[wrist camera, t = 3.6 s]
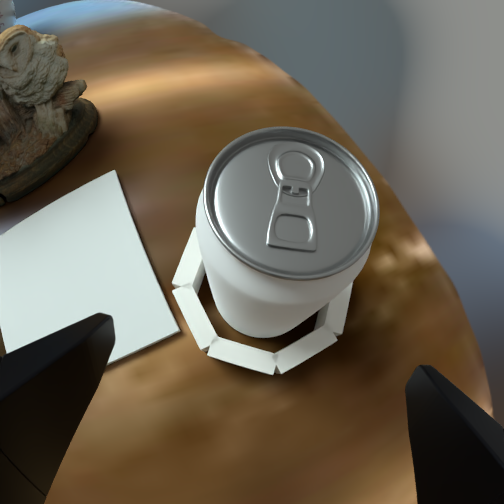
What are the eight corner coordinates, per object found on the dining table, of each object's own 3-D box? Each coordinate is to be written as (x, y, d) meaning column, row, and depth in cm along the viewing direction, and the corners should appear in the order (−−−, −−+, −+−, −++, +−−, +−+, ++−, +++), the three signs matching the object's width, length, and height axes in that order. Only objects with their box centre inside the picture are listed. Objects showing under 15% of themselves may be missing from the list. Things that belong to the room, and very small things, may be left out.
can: (312, 251, 22) (380, 136, 10) (306, 343, 19) (397, 305, 8) (221, 239, 22) (210, 109, 10) (206, 332, 19) (167, 279, 8)
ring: (364, 319, 20) (379, 312, 18) (229, 397, 18) (228, 401, 15) (289, 199, 23) (294, 180, 21) (160, 258, 21) (151, 244, 18)
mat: (180, 331, 19) (179, 330, 18) (25, 399, 16) (21, 400, 15) (116, 173, 23) (114, 169, 23) (-8, 245, 20) (-11, 243, 20)
